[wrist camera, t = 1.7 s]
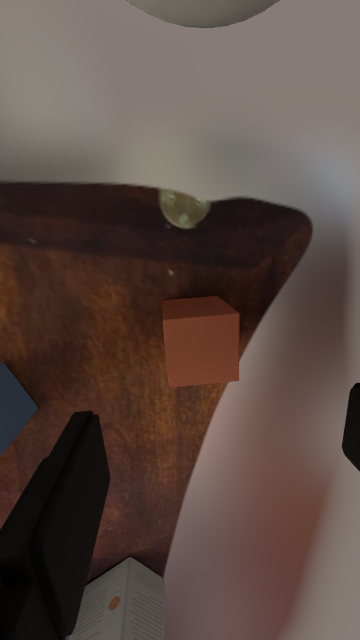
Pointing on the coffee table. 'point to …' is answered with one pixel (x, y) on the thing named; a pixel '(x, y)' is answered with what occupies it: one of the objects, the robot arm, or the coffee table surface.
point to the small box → (122, 605)
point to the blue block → (12, 407)
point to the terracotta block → (200, 341)
